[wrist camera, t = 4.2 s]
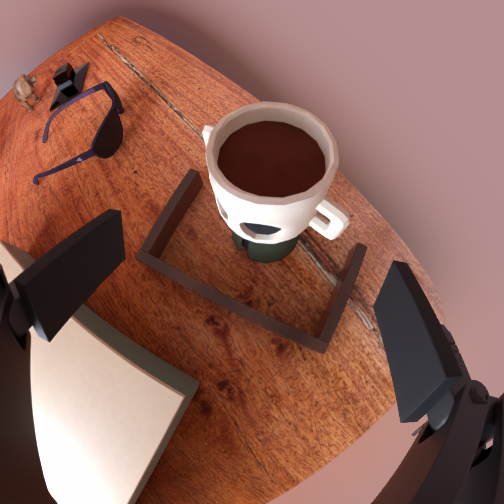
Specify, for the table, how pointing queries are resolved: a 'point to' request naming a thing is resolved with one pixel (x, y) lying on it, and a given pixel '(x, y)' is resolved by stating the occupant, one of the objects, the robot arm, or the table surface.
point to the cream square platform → (99, 405)
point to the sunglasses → (105, 137)
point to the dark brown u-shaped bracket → (150, 258)
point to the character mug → (273, 177)
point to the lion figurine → (25, 90)
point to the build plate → (68, 83)
